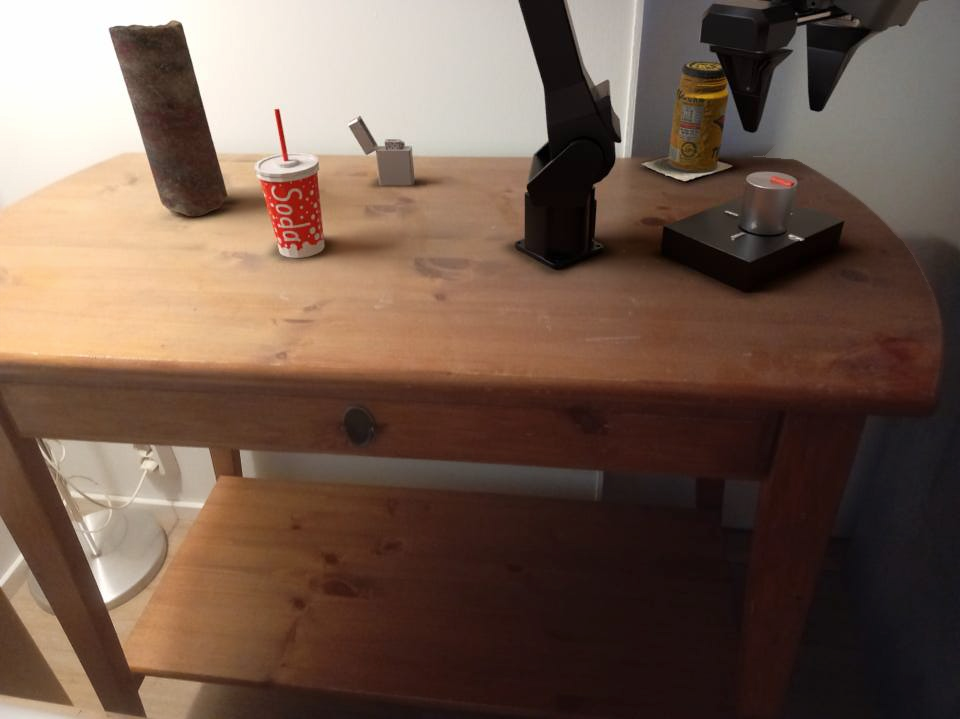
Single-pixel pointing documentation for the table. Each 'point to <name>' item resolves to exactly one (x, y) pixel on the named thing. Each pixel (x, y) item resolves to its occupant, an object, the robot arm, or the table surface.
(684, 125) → the condiment
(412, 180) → the lighter
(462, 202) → the table surface
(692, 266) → the hob panel
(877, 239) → the table surface
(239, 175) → the table surface
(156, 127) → the rough stone core
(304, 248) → the beverage cup
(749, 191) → the hob knob
